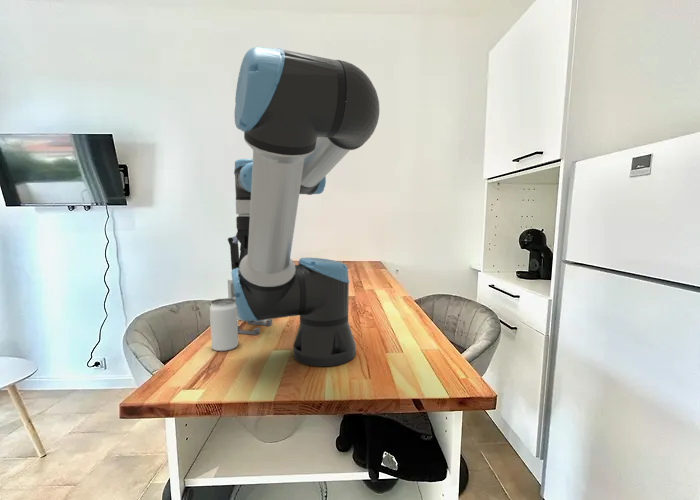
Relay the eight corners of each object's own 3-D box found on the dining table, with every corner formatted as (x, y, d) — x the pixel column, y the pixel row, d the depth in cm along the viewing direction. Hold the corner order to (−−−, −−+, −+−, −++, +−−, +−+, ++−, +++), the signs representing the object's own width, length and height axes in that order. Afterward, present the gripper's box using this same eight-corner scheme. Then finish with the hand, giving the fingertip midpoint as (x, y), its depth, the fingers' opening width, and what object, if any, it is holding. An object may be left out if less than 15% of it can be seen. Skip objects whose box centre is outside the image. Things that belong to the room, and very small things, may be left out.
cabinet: (256, 335, 98) (255, 289, 97) (208, 330, 102) (206, 286, 100) (284, 315, 116) (283, 277, 115) (242, 312, 120) (241, 275, 118)
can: (229, 352, 86) (227, 305, 85) (206, 350, 87) (203, 303, 86) (242, 343, 92) (241, 298, 91) (220, 341, 94) (218, 297, 92)
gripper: (283, 215, 102) (284, 294, 105) (230, 215, 106) (233, 291, 109) (271, 216, 95) (273, 300, 97) (215, 215, 99) (218, 297, 101)
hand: (252, 295), depth 103 cm, fingers closed on door, 4 cm apart
